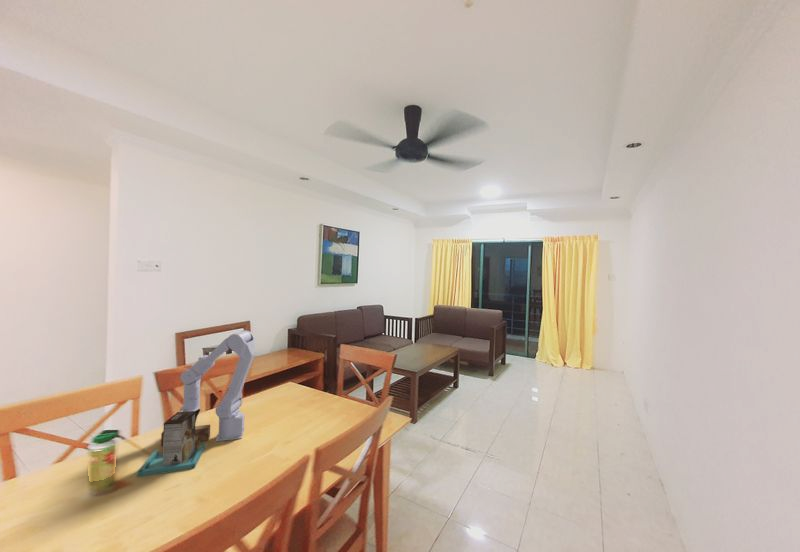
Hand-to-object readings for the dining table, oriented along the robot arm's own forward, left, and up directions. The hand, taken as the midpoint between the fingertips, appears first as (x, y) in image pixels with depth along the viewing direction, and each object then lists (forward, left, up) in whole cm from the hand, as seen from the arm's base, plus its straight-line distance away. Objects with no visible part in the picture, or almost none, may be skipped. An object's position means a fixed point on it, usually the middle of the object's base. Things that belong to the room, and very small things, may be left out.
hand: (190, 428), depth 129 cm
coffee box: (-2, +19, -3) cm, 19 cm away
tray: (0, +18, -2) cm, 18 cm away
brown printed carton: (0, +9, -2) cm, 9 cm away
